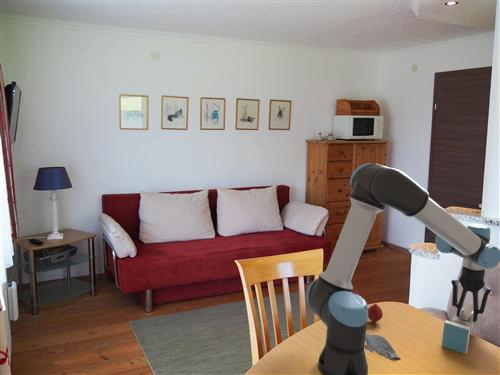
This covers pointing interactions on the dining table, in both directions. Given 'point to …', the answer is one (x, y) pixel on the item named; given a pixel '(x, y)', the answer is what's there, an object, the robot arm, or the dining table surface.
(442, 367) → the dining table surface
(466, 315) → the scraper
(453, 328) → the tile
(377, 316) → the onion
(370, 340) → the stone slab
